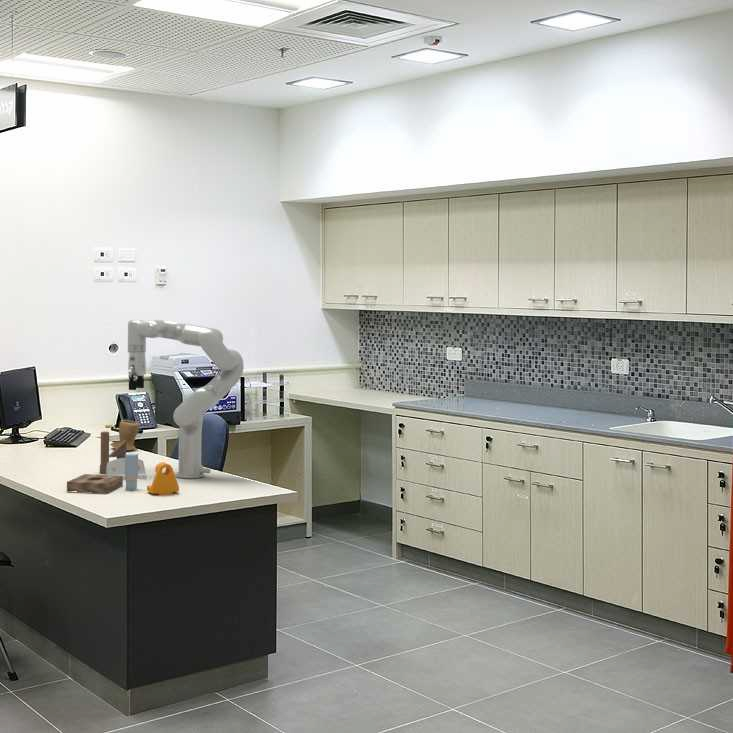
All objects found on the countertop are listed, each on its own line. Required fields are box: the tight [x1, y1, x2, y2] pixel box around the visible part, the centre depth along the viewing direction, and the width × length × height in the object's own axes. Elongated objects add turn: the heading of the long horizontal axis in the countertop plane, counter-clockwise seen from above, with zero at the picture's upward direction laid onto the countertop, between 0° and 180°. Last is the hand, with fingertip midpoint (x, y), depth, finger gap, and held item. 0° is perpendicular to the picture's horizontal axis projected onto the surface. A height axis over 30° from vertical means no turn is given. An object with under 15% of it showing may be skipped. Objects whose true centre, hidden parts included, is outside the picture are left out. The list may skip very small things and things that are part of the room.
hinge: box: [105, 458, 148, 480], centre depth 426 cm, size 17×5×10 cm, turn 116°
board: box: [66, 473, 124, 495], centre depth 402 cm, size 16×18×4 cm
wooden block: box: [99, 430, 127, 475], centre depth 438 cm, size 4×11×18 cm, turn 112°
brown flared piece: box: [109, 419, 140, 452], centre depth 504 cm, size 15×12×15 cm
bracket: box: [146, 462, 180, 496], centre depth 397 cm, size 11×7×12 cm, turn 121°
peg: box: [124, 453, 139, 491], centre depth 402 cm, size 4×4×14 cm
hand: (136, 389), depth 435 cm, fingers open, 9 cm apart
